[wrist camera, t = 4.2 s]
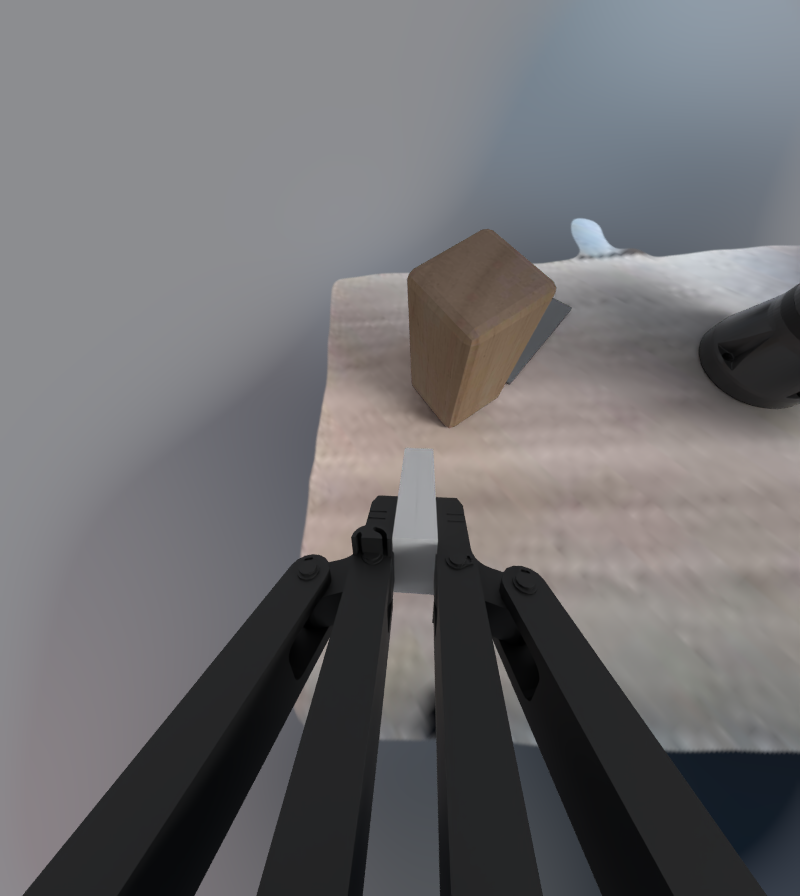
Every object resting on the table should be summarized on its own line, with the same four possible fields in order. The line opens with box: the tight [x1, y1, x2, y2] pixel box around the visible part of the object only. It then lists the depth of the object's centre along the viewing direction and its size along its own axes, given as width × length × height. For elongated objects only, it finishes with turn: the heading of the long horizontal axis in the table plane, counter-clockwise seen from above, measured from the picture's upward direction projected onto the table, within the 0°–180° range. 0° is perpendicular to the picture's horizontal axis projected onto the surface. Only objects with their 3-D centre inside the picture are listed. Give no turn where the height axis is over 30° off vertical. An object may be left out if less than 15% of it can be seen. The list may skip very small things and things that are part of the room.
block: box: [407, 229, 556, 428], centre depth 34 cm, size 10×10×20 cm
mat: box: [506, 298, 571, 385], centre depth 47 cm, size 18×12×1 cm, turn 140°
